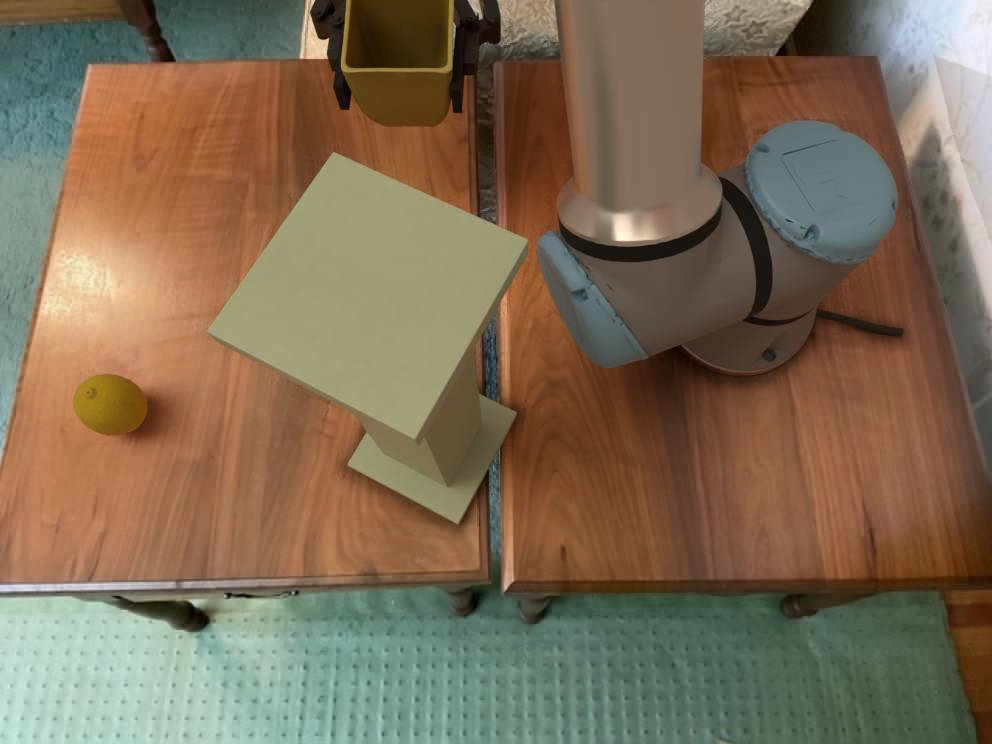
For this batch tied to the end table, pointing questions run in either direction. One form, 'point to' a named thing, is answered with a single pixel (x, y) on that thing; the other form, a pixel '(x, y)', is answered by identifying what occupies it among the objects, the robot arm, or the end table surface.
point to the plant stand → (385, 325)
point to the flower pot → (399, 59)
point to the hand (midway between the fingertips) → (398, 100)
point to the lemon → (110, 404)
